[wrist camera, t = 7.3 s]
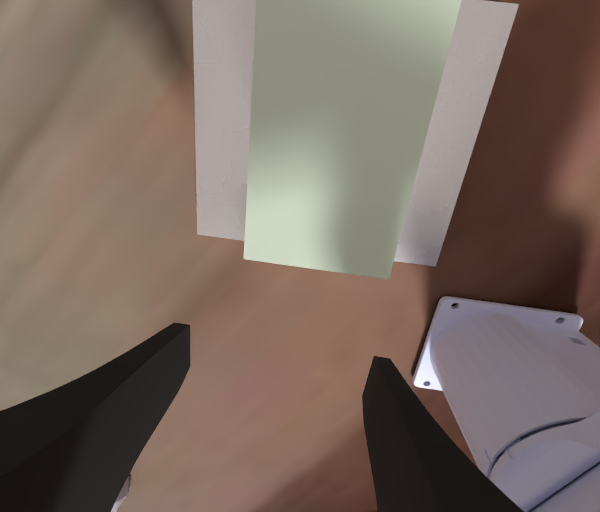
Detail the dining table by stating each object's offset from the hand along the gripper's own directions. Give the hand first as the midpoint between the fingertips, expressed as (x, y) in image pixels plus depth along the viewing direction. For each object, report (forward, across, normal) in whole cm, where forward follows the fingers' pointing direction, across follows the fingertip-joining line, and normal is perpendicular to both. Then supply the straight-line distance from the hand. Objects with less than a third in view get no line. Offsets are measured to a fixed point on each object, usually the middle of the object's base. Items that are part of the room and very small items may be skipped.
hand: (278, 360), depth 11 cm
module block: (+5, -1, -8) cm, 10 cm away
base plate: (+10, -1, -8) cm, 13 cm away
